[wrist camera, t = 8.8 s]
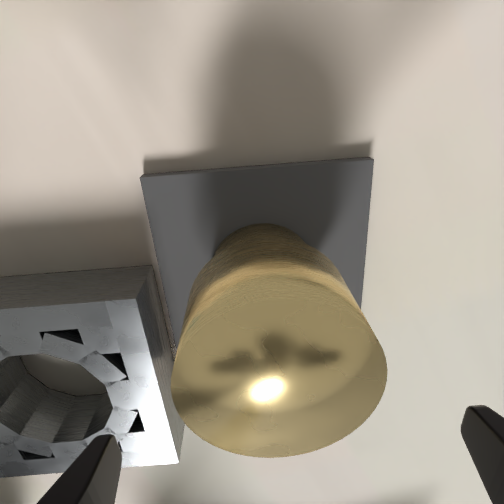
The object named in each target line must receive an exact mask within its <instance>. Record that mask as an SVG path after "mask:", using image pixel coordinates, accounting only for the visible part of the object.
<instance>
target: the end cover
mask: <svg viewBox="0 0 504 504" xmlns="http://www.w3.org/2000/svg"><path fill="white" fill-rule="evenodd" d="M386 381H387V364H386V358H385V355H384V352H383V349H382V347H381V345H380V343H379V341H378V340H377V338H376V336H375V334H374V332H373V331H372V329H371V327H370V325H369V324H368V322H367V320H366V318H365V317H364V315H363V313H362V311H361V310H360V308H359V306H358V304H357V302H356V301H355V299H354V297H353V295H352V294H351V292H350V290H349V288H348V287H347V285H346V283H345V281H344V280H343V278H342V276H341V274H340V272H339V271H338V269H337V268H336V266H335V265H334V264H333V263H332V261H331V260H330V259H328V258H327V257H326V256H325V255H324V254H323V253H321V252H320V251H319V250H317V249H315V248H313V247H311V246H310V245H308V244H306V243H305V242H304V241H303V239H301V238H300V237H299V236H298V235H297V234H296V233H294V232H293V231H291V230H289V229H287V228H285V227H282V226H279V225H275V224H268V223H260V224H252V225H249V226H245V227H243V228H240V229H238V230H236V231H234V232H233V233H231V234H230V235H229V236H227V237H226V238H225V239H224V240H223V241H222V242H221V244H220V245H219V246H218V248H217V250H216V251H215V254H214V256H213V258H212V259H211V260H210V261H209V262H208V263H207V264H206V265H205V266H204V267H203V268H202V269H201V271H200V272H199V273H198V275H197V277H196V279H195V280H194V282H193V285H192V287H191V290H190V294H189V299H188V303H187V308H186V312H185V317H184V321H183V326H182V330H181V335H180V339H179V344H178V348H177V353H176V357H175V362H174V366H173V371H172V375H171V394H172V400H173V403H174V406H175V408H176V410H177V412H178V414H179V416H180V418H181V419H182V420H183V421H184V423H185V424H186V425H187V426H188V427H189V428H190V429H191V430H192V431H193V432H194V433H195V434H196V435H198V436H199V437H200V438H202V439H203V440H205V441H207V442H208V443H210V444H212V445H214V446H216V447H218V448H221V449H223V450H226V451H229V452H232V453H236V454H241V455H245V456H253V457H267V458H274V457H287V456H295V455H300V454H304V453H309V452H312V451H315V450H318V449H321V448H324V447H326V446H329V445H331V444H333V443H335V442H337V441H339V440H341V439H342V438H344V437H345V436H347V435H349V434H350V433H352V432H353V431H354V430H355V429H357V428H358V427H359V426H360V425H361V424H362V423H363V422H364V421H365V420H366V419H367V418H368V417H369V416H370V415H371V414H372V412H373V411H374V410H375V408H376V407H377V405H378V403H379V401H380V400H381V397H382V395H383V392H384V390H385V385H386Z"/></svg>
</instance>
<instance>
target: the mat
mask: <svg viewBox="0 0 504 504" xmlns="http://www.w3.org/2000/svg"><path fill="white" fill-rule="evenodd" d="M373 164H374V159H372V158H370V157H363V158H350V159H337V160H324V161H311V162H298V163H285V164H272V165H259V166H246V167H233V168H220V169H207V170H194V171H181V172H169V173H156V174H143V175H142V176H141V177H140V181H141V186H142V190H143V195H144V200H145V204H146V209H147V214H148V218H149V223H150V228H151V232H152V237H153V242H154V246H155V251H156V256H157V260H158V265H159V270H160V274H161V279H162V284H163V288H164V293H165V298H166V302H167V307H168V312H169V316H170V321H171V326H172V330H173V335H174V340H175V344H176V349H177V348H178V344H179V339H180V335H181V330H182V326H183V321H184V317H185V312H186V308H187V303H188V299H189V294H190V290H191V287H192V285H193V282H194V280H195V279H196V277H197V275H198V273H199V272H200V271H201V269H202V268H203V267H204V266H205V265H206V264H207V263H208V262H209V261H210V260H211V259H212V258H213V256H214V254H215V251H216V250H217V248H218V246H219V245H220V244H221V242H222V241H223V240H224V239H225V238H226V237H227V236H229V235H230V234H231V233H233V232H234V231H236V230H238V229H240V228H243V227H245V226H249V225H252V224H260V223H268V224H275V225H279V226H282V227H285V228H287V229H289V230H291V231H293V232H294V233H296V234H297V235H298V236H299V237H300V238H301V239H303V241H304V242H305V243H306V244H308V245H310V246H311V247H313V248H315V249H317V250H319V251H320V252H321V253H323V254H324V255H325V256H326V257H327V258H328V259H330V260H331V261H332V263H333V264H334V265H335V266H336V268H337V269H338V271H339V272H340V274H341V276H342V278H343V280H344V281H345V283H346V285H347V287H348V288H349V290H350V292H351V294H352V295H353V297H354V299H355V301H356V302H357V304H358V306H359V308H360V310H361V301H362V289H363V278H364V266H365V255H366V244H367V232H368V221H369V209H370V198H371V186H372V175H373Z"/></svg>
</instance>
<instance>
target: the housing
mask: <svg viewBox="0 0 504 504" xmlns="http://www.w3.org/2000/svg"><path fill="white" fill-rule="evenodd" d="M43 353H44V354H47V355H50V356H54V357H57V358H60V359H64V360H67V361H70V362H73V363H77V364H80V365H81V366H82V367H84V368H85V369H86V370H87V371H88V372H90V373H91V374H92V375H93V376H95V377H96V378H97V379H98V380H100V381H101V382H102V383H103V384H104V385H105V386H106V389H107V392H106V393H104V394H101V395H89V396H73V395H69V394H66V393H62V392H59V391H55V390H51V389H49V388H47V387H46V386H45V385H43V384H42V383H41V382H39V381H38V380H36V379H35V378H34V377H32V376H31V375H30V374H28V373H27V371H26V369H25V367H24V365H23V363H22V361H21V359H20V357H19V355H31V354H43ZM173 366H174V361H173V356H172V352H171V347H170V343H169V338H168V334H167V329H166V325H165V320H164V316H163V311H162V307H161V302H160V298H159V294H158V289H157V285H156V280H155V276H154V271H153V267H152V265H149V266H136V267H123V268H110V269H98V270H85V271H72V272H59V273H47V274H34V275H21V276H8V277H0V478H1V477H14V476H26V475H38V474H50V473H63V472H65V471H66V470H67V469H68V467H69V466H70V465H71V464H72V463H73V462H74V461H75V459H76V458H77V457H78V456H79V455H80V454H81V453H82V451H83V450H84V449H85V448H86V447H87V446H88V445H89V443H90V442H91V441H92V440H93V439H94V438H95V437H96V436H98V435H104V434H113V435H114V436H115V437H116V440H117V442H118V445H119V448H120V451H121V453H122V465H121V468H124V467H137V466H149V465H161V464H174V463H179V457H180V451H181V445H182V438H183V432H184V426H185V423H184V421H183V420H182V419H181V418H180V416H179V414H178V412H177V410H176V408H175V406H174V403H173V400H172V394H171V375H172V371H173Z"/></svg>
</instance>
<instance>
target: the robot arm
mask: <svg viewBox="0 0 504 504" xmlns="http://www.w3.org/2000/svg"><path fill="white" fill-rule="evenodd" d="M461 434H462V437H463V439H464V442H465V444H466V446H467V448H468V451H469V453H470V455H471V457H472V460H473V462H474V464H475V466H476V468H477V471H478V473H479V475H480V477H481V480H482V482H483V484H484V486H485V488H486V491H487V493H488V495H489V497H490V499H491V501H492V503H493V504H504V418H503V417H502V416H501V415H499V414H498V413H496V412H495V411H493V410H492V409H490V408H489V407H487V406H484V405H475V406H469V407H467V408H466V411H465V414H464V418H463V421H462V424H461ZM121 465H122V453H121V451H120V448H119V445H118V442H117V440H116V437H115V436H114V435H113V434H104V435H98V436H96V437H95V438H94V439H93V440H92V441H91V442H90V443H89V445H88V446H87V447H86V448H85V449H84V450H83V451H82V453H81V454H80V455H79V456H78V457H77V458H76V459H75V461H74V462H73V463H72V464H71V465H70V466H69V467H68V469H67V470H66V471H65V472H64V473H63V474H62V475H61V477H60V478H59V479H58V480H57V481H56V482H55V483H54V484H53V486H52V487H51V488H50V489H49V490H48V491H47V492H46V494H45V495H44V496H43V497H42V498H41V499H40V500H39V502H38V503H37V504H114V503H115V498H116V492H117V487H118V481H119V476H120V471H121Z"/></svg>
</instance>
